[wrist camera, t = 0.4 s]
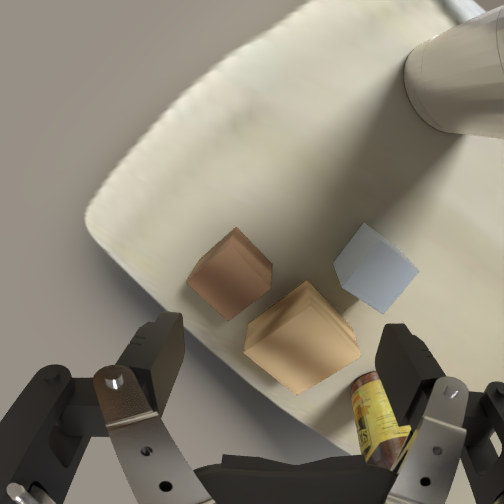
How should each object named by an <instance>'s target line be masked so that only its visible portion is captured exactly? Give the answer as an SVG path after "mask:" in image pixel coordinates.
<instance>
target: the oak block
mask: <svg viewBox="0 0 504 504" xmlns="http://www.w3.org/2000/svg"><path fill="white" fill-rule="evenodd" d="M243 353H244V354H245V355H247V356H248V357H249V358H250V359H252V360H253V361H254V362H255V363H256V364H258V365H259V366H260V367H261V368H263V369H264V370H265V371H266V372H268V373H269V374H270V375H271V376H273V377H274V378H275V379H276V380H278V381H279V382H280V383H282V384H283V385H284V386H285V387H287V388H288V389H289V390H291V391H292V392H293V393H295V394H296V395H298V394H300V393H302V392H303V391H305V390H307V389H309V388H310V387H312V386H314V385H316V384H317V383H319V382H321V381H323V380H324V379H326V378H328V377H329V376H331V375H333V374H334V373H336V372H337V371H339V370H341V369H342V368H344V367H345V366H347V365H349V364H350V363H352V362H353V361H355V360H356V359H358V358H360V357H361V355H360V352H359V349H358V345H357V342H356V339H355V335H354V332H353V329H352V327H351V326H350V325H349V324H348V323H347V322H346V321H345V320H344V319H343V318H342V317H341V316H340V314H339V313H338V312H337V311H336V310H335V309H334V308H333V307H332V306H331V305H330V304H329V303H328V302H327V301H326V299H325V298H324V297H323V296H322V295H321V294H320V293H319V292H318V291H317V290H316V289H315V288H314V287H313V286H312V285H311V284H310V282H309V281H308V280H306V281H305V282H303V283H302V284H301V285H300V286H298V287H297V288H296V289H294V290H293V291H292V292H290V293H289V294H288V295H287V296H285V297H284V298H283V299H281V300H280V301H279V302H277V303H276V304H275V305H273V306H272V307H271V308H269V309H268V310H267V311H265V312H264V313H263V314H261V315H260V316H258V317H257V318H256V319H254V320H253V321H252V322H250V323H249V324H248V328H247V333H246V339H245V345H244V351H243Z"/></svg>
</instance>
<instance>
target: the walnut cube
mask: <svg viewBox="0 0 504 504" xmlns="http://www.w3.org/2000/svg"><path fill="white" fill-rule="evenodd" d="M271 280H272V263H271V262H270V261H269V260H268V259H267V258H266V257H265V256H264V255H263V254H262V253H261V252H260V251H259V250H258V249H257V248H256V247H255V246H254V245H253V244H252V243H251V241H250V240H249V239H248V238H247V237H246V236H245V235H244V234H243V233H242V232H241V231H240V230H239V229H238V228H237V227H235V228H234V229H233V230H232V231H231V232H230V233H229V234H227V235H226V236H225V237H224V238H223V239H222V240H221V241H220V242H218V243H217V244H216V245H215V246H214V247H213V248H212V249H211V250H210V251H208V252H207V253H206V254H205V255H204V256H203V257H202V258H201V259H200V260H199V262H198V263H197V265H196V267H195V268H194V270H193V272H192V273H191V275H190V277H189V278H188V280H187V282H186V283H187V284H188V285H189V286H190V287H192V288H193V289H194V290H195V291H196V292H197V293H198V294H199V295H200V296H201V297H202V298H203V299H204V300H205V301H206V302H207V303H209V304H210V305H211V306H212V307H213V308H214V309H215V310H216V311H217V312H218V313H219V314H220V315H222V316H223V317H224V318H225V319H226V320H227V321H229V320H230V319H232V318H233V317H234V316H236V315H237V314H238V313H240V312H241V311H242V310H244V309H245V308H246V307H248V306H249V305H250V304H252V303H253V302H254V301H256V300H257V299H258V298H260V297H261V296H262V295H264V294H265V293H266V292H268V291H269V290H270V289H271Z"/></svg>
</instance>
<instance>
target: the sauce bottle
mask: <svg viewBox="0 0 504 504" xmlns="http://www.w3.org/2000/svg"><path fill="white" fill-rule="evenodd" d="M351 396H352V399H351V402H352V408H353V412H354V417H355V423H356V427H357V433H358V439H359V444H360V449H361V454H362V455H363V454H364V456H365V460H366V464H372V465H377V466H380V467H383V468H386V469H388V470H390V469H391V467H392V465H393V463H394V461H395V460H396V458H397V456H398V454H399V452H400V450H401V448H402V446H403V444H404V442H405V439H406V437H407V435H408V433H409V432H410V430H411V427H410V425H408V426H401V427H399V426H398V424H397V421H396V419H395V416H394V413H393V411H392V408H391V406H390V403H389V400H388V398H387V395H386V393H385V390H384V388H383V385H382V383H381V381H380V378H379V376H378V373H377V371H374V372H370V373H368V374H366V375H364V376H362V377H360V378H359V379H358V380H357V381H356V382H355V383H354V385H353V387H352V390H351Z"/></svg>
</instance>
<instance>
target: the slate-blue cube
mask: <svg viewBox="0 0 504 504" xmlns="http://www.w3.org/2000/svg"><path fill="white" fill-rule="evenodd" d="M333 266H334V268H335V271H336V274H337V276H338V279H339V282H340V285H341V287H342V288H343V289H345V290H346V291H348V292H349V293H351V294H352V295H354V296H355V297H357V298H359V299H360V300H362V301H363V302H365V303H366V304H368V305H369V306H371V307H372V308H374V309H376V310H377V311H379V312H380V313H382V314H384V313H385V312H386V310H387V309H388V308H389V307H390V306H391V305H392V304H393V303H394V301H395V300H396V299H397V298H398V297H399V296H400V294H401V293H402V292H403V291H404V290H405V288H406V287H407V286H408V285H409V284H410V282H411V281H412V280H413V279H414V278H415V276H416V275H417V274H418V273H419V270H418V269H417V268H416V267H415V266H414V264H413V263H412V262H411V261H410V260H409V259H408V258H407V257H406V256H405V254H404V253H403V252H402V251H401V250H400V249H399V248H397V247H396V246H395V245H393V244H392V243H391V242H390V241H388V240H387V239H386V238H385V237H383V236H382V235H381V234H379V233H378V232H377V231H375V230H374V229H373V228H371V227H370V226H369V225H367V224H366V223H365V222H364V223H363V224H362V225H361V227H360V228H359V229H358V231H357V232H356V233H355V235H354V236H353V237H352V239H351V240H350V241H349V243H348V244H347V245H346V247H345V248H344V249H343V251H342V252H341V253H340V254H339V256H338V257H337V258H336V260H335V261H334V262H333Z"/></svg>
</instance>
